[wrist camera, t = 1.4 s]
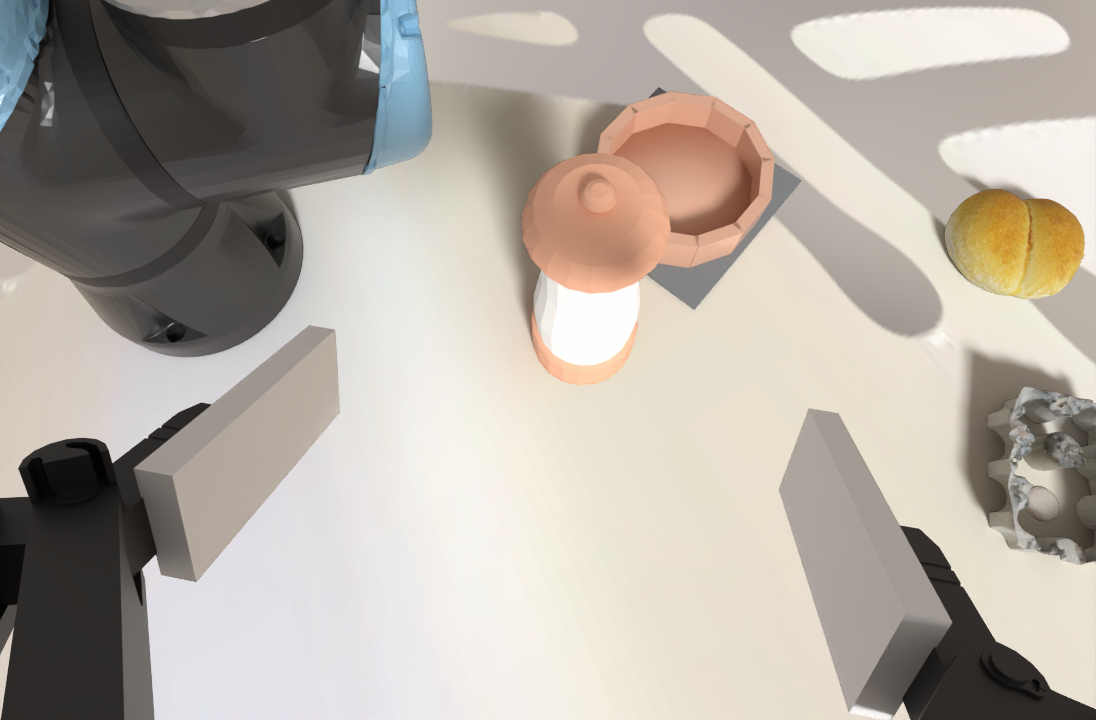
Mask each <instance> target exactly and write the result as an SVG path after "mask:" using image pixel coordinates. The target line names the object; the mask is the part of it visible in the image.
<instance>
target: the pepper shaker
mask: <svg viewBox="0 0 1096 720" xmlns="http://www.w3.org/2000/svg"><path fill="white" fill-rule="evenodd" d="M521 220H522V239H523V241H524V243H525V246H526V248H527V251H528V253H529V255H530V258H531V259H532V260H533V261H534V262H535V264H536V265H537V266H538V267H539V268H540V269H541V272H540V275H539V279H538V282H537V286H536V289H535V292H534V308H533V312H532V315H531V325H532V337H533V345H534V349H535V352H536V354H537V357H538V359H539V362H540V363H541V364H542V365H543V366H544V367H545V369H546V370H547V371H548V372H549V373H550V374H552V375H553V376H555V377H557V378H558V379H560V380H562V381H564V382H568V383H572V384H576V385H587V384H596V383H598V382H601V381H603V380H606V379H609V378H610V377H611V376H612V375H614V374H615V373H616V372H617V371H618V370H620V369H621V367H622V366H623V364H624V363H625V361H626V359H627V358H628V356H629V354H630V351H631V348H632V346H633V343H634V340H635V336H636V331H637V327H638V324H637V317H638V312H639V308H640V293H639V280H640V279H642V278H643V277H644V276H645V275H647V274H648V273H649V272H651V271H652V270H653V269H654V268H655V267H656V265H657V264H658V262H659V260H660V259H661V257H662V256H663V254H664V253H665V251H666V249H667V244H668V240H669V235H670V231H671V227H670V220H669V212H668V205H667V201H666V199H665V197H664V195H663V193H662V191H661V189H660V187H659V185H658V183H657V182H656V181H655V180H654V179H653V178H652V177H651V176H650V175H649V174H648V173H647V172H646V171H645V170H644V169H643V168H641V167H639V166H638V165H636V164H634V163H632V162H630V161H628V160H626V159H624V158H622V157H619V156H615V155H610V154H605V153H592V154H581V155H578V156H576V157H573V158H570V159H567V160H564V161H561V162H559V163H558V164H556V165H555V166H554V167H552V168H551V169H549V170H548V171H547V172H545V173H544V174H542V176H541V177H540V178H539V180H538V181H537V182H536V184H535V185H534V187H533V188H532V189H531V191H530V193H529V195H528V198H527V201H526V204H525V207H524V211H523V214H522V217H521Z"/></svg>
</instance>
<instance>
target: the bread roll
mask: <svg viewBox="0 0 1096 720" xmlns="http://www.w3.org/2000/svg"><path fill="white" fill-rule="evenodd" d="M1084 237H1085V236H1084V232H1083V229H1082V226H1081V224H1080V223H1079V221H1078V219H1077V218H1076V216H1075V215H1073V214H1072V213H1071V212H1070V211H1069V210H1068V209H1066V208H1065V207H1063V206H1062V205H1061V204H1059V203H1057V202H1055V201H1052V200H1049V199H1027V200H1021V199H1019V198H1018V197H1017V196H1016V195H1014V194H1012V193H1010V192H1008V191H1004V190H1001V189H990V190H984V191H982V192H979V193H977V194H975V195H973V196H971V197H969V198H968V199H966V200H965V201H964V202H963V203H961V205H959V206H958V208H957V209H956V210H955V211H954V212H953V214H952V215H951V217H950V219H949V221H948V223H947V225H946V228H945V242H946V247H947V250H948V253H949V256H950V258H951V259H952V260H953V262H954V263H955V265H956V267H957V268H958V269H959V270H960V272H961V273H962V274H963V275H964V276H965V277H966V279H967V280H968V281H970V282H971V283H972V284H974V285H976V286H977V287H979V288H981V289H983V290H985V291H988V292H990V293H994V294H998V295H1010V296H1013V297H1017V298H1020V299H1038V298H1044V297H1047V296H1052V295H1054V294H1056V293H1058V292H1059V291H1060V290H1061V289H1062V288H1063V287H1064V286H1065V285H1066V284H1067V283H1068V282H1069V281H1070V280H1071V279H1072V277H1073V276H1074V274H1075V273H1076V271H1077V269H1078V267H1079V265H1080V264H1081V260H1082V258H1083V257H1084V245H1085V242H1084Z"/></svg>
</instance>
